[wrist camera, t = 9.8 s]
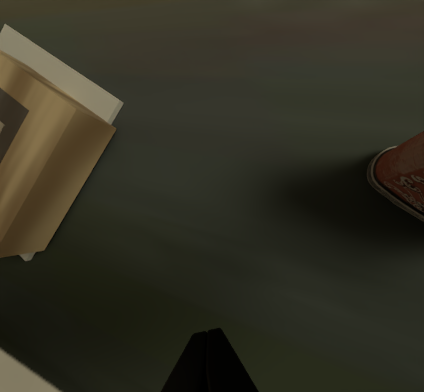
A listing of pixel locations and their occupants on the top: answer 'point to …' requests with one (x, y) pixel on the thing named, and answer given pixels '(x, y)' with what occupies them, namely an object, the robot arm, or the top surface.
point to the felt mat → (59, 79)
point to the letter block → (41, 155)
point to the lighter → (401, 175)
